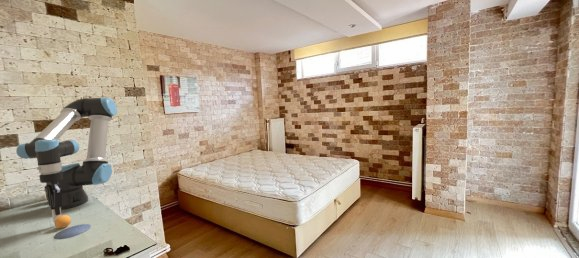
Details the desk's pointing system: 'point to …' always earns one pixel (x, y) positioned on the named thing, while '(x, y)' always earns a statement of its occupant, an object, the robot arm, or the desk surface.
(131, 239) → the desk surface
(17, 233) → the desk surface
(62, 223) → the ball
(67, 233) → the disc
